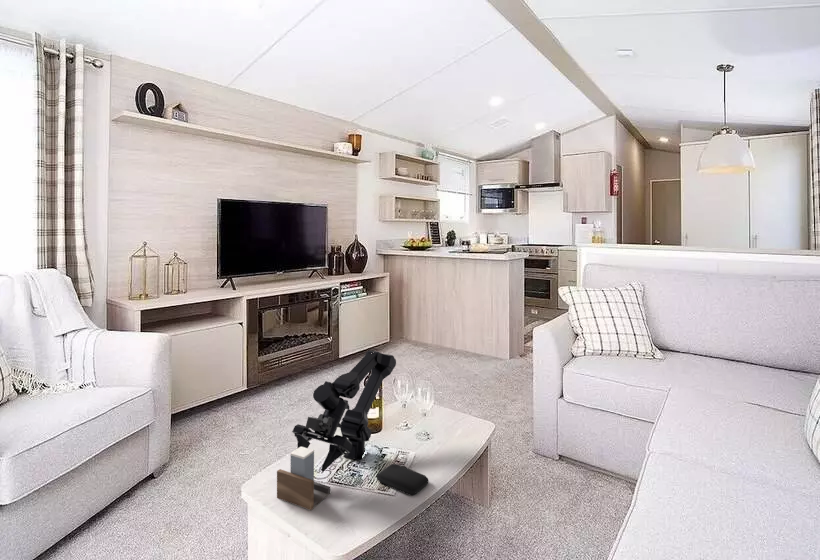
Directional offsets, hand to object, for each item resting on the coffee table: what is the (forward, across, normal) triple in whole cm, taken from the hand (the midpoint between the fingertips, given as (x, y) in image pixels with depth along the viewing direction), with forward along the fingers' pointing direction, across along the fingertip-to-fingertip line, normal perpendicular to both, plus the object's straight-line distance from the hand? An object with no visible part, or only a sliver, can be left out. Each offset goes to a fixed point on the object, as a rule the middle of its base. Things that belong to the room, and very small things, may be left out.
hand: (309, 466), depth 131 cm
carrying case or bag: (-7, +22, +19) cm, 29 cm away
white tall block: (+7, 0, +3) cm, 8 cm away
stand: (+7, 0, +4) cm, 8 cm away
